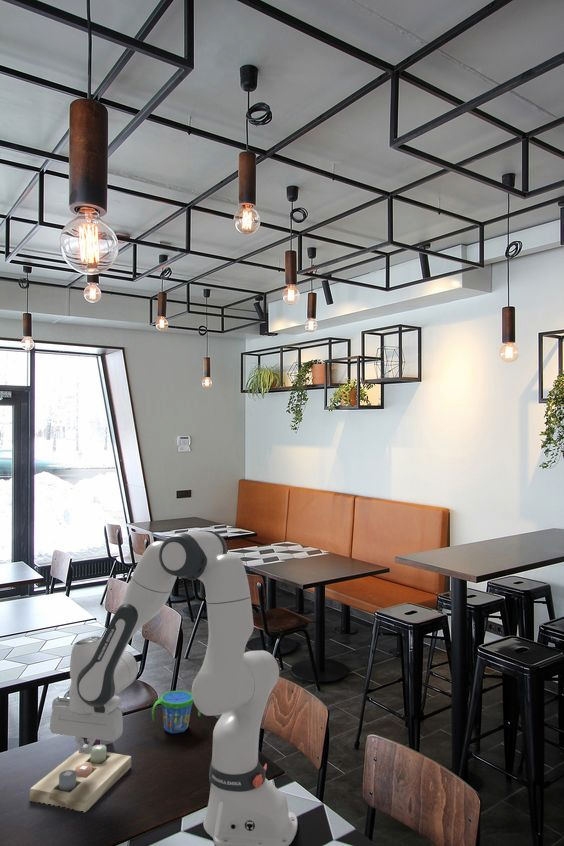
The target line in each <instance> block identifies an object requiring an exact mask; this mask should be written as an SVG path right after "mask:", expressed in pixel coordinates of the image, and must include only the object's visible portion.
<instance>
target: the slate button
mask: <svg viewBox="0 0 564 846" xmlns="http://www.w3.org/2000/svg"><path fill="white" fill-rule="evenodd" d="M76 776H77V772H76V771H74V770H66V771H63V772H61V773H60V774H59V790H60V791H65V792H71V791H72V790H73V789H75V788H76Z"/></svg>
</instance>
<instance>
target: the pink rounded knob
mask: <svg viewBox="0 0 564 846" xmlns="http://www.w3.org/2000/svg"><path fill="white" fill-rule="evenodd" d="M75 771H76V772H77V776H79V777H84V778H87V777H88V776H89V775H90V774H91V773H92V766H91V765H88V764H83V765H80V766H78V767H76V769H75Z"/></svg>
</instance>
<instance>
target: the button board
mask: <svg viewBox="0 0 564 846" xmlns="http://www.w3.org/2000/svg"><path fill="white" fill-rule="evenodd" d="M90 755H91V753H90V754H89V755H88V754H81V753H79V749H78V750H77V751H75V752H74V753H72V754H71V755H70V756H69V757H68V758H66V759H65V760H64V761H63V762H61V763H60V764H59V765H58V766H56V767H55V768H53V770H52V771H50V772H49V773H48V774H46V775H45V776H44V777H43V778H42V779H40V780H38V782H36V783H35V784H34V785H32V787H30V789H29V802H34V803H39V802H40V803H39V804H43V803H45V804H44V805H48V804H51V805H50V806H53V805H55V806H54V807H58V806H60V807H59V808H62V807H66V808H65V809H67V808H70V809H69V810H72V809H74V810H73V811H76V812H77V811H78V812H81V811H83V812H82V813H86V812H87V811H88V810H90V808H91V807H93V805H94V804H96V803H97V802H98V800H99V799H101V798H102V796H104V795H105V793H106V792H108V791H109V789H110V788H112V787H113V786H114V784H115V783H117V782H118V780H120V779H121V778H122V777H123V776H124V775H125V774H126V773H127V772H128V771H129V770H130V769H131V768H132V756H131V755H126V754H120V753H115V752H110V751H106V761H105V762H104V763H102V764H101V765H100V764H95V763H90ZM83 764H88V765H91V766H92V773H91V774H90V775H89V776H88V777H87V778H84V777H79V776H76V788H75V789H73V790H72V791H71V792H65V791H60V790H59V774H60V773H61V772H63V771H66V770H74V771H75V769H76V767H78V766H80V765H83Z"/></svg>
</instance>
